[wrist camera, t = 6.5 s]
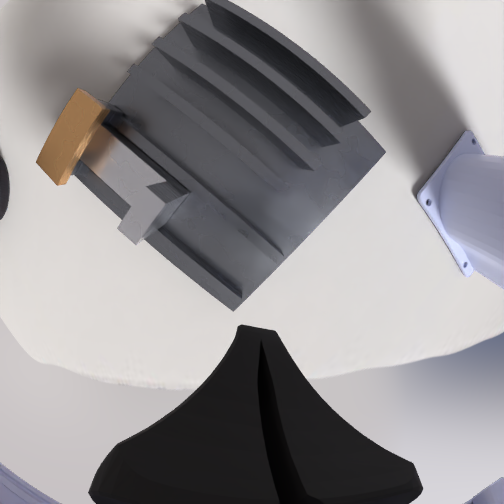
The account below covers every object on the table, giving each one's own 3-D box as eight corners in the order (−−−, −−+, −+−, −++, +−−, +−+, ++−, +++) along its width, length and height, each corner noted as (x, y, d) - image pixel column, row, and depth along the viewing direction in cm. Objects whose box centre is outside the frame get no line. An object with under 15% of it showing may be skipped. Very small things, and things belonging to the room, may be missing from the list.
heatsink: (378, 152, 15) (416, 151, 11) (234, 302, 19) (228, 344, 14) (203, 10, 12) (188, -27, 8) (75, 165, 16) (32, 170, 11)
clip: (189, 192, 15) (165, 203, 11) (165, 223, 16) (135, 245, 12) (97, 115, 13) (55, 106, 9) (78, 145, 14) (34, 146, 10)
